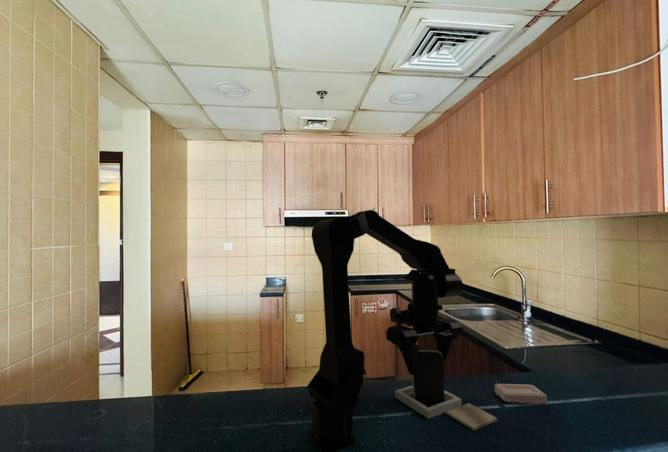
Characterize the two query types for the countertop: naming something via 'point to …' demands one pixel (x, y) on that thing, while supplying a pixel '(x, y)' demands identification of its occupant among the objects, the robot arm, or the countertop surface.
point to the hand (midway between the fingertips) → (426, 370)
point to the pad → (471, 416)
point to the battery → (429, 377)
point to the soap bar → (520, 393)
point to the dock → (428, 412)
